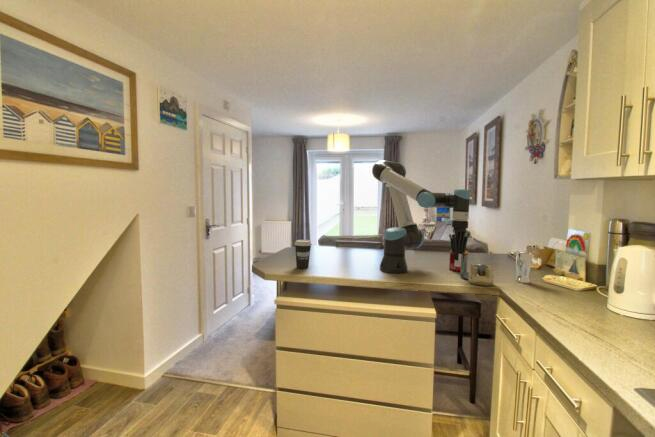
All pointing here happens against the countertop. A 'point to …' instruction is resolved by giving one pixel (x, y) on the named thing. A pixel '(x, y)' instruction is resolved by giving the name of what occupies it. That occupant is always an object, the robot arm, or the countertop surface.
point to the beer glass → (523, 266)
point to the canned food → (452, 261)
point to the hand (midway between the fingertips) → (457, 266)
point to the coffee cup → (302, 253)
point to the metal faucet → (476, 272)
